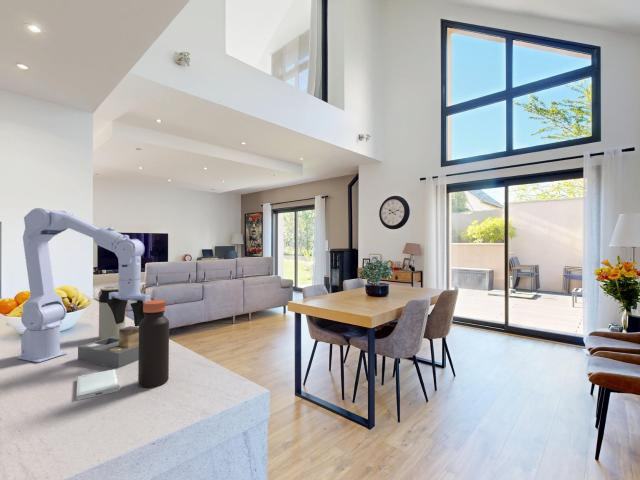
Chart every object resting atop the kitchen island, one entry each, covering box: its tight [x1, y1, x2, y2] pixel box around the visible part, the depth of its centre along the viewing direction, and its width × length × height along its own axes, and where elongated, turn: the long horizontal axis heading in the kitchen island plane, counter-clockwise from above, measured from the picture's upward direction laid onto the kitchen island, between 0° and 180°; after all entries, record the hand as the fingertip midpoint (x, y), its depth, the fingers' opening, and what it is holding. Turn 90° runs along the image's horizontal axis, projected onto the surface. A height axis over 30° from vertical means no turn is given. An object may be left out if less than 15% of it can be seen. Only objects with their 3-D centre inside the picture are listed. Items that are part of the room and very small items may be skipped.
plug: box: [119, 326, 139, 349], centre depth 97 cm, size 4×4×8 cm
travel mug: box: [98, 285, 126, 340], centre depth 117 cm, size 8×8×18 cm
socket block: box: [77, 334, 139, 369], centre depth 98 cm, size 16×13×4 cm
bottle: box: [137, 299, 170, 389], centre depth 81 cm, size 7×7×20 cm
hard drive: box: [75, 369, 120, 402], centre depth 79 cm, size 2×8×12 cm
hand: (129, 324), depth 98 cm, fingers open, 7 cm apart
